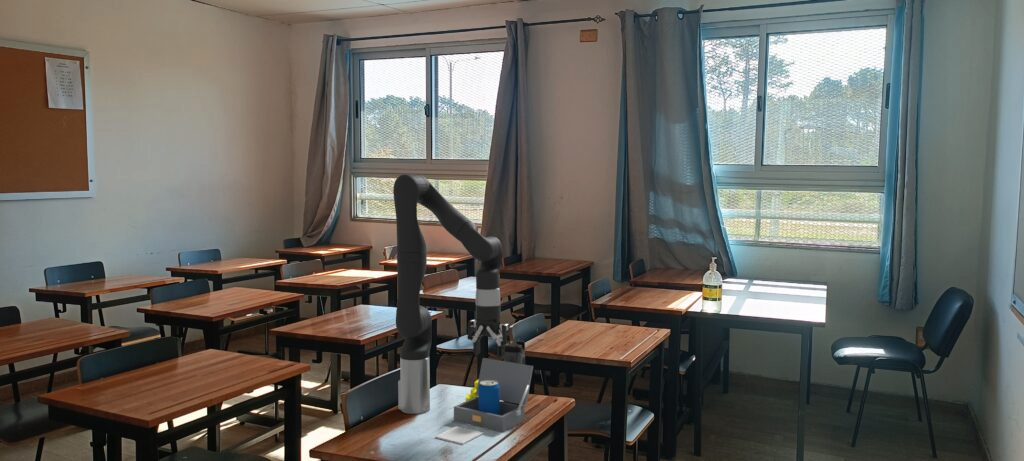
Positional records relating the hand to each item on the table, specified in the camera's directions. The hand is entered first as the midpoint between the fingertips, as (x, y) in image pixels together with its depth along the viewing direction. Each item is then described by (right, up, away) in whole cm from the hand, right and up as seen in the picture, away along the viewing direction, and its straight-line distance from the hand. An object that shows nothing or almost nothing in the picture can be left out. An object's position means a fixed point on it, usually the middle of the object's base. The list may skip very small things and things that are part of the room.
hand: (488, 355), depth 218 cm
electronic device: (+8, -19, +19) cm, 28 cm away
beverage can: (0, -20, +2) cm, 21 cm away
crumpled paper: (-5, -19, +20) cm, 28 cm away
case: (+1, -20, +3) cm, 20 cm away
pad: (-8, -21, -11) cm, 25 cm away
